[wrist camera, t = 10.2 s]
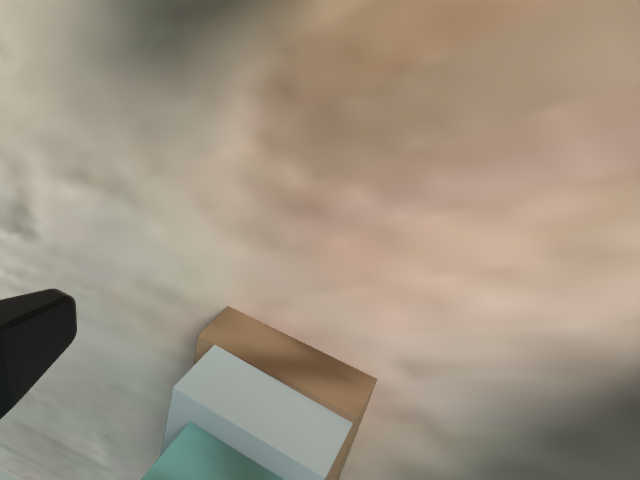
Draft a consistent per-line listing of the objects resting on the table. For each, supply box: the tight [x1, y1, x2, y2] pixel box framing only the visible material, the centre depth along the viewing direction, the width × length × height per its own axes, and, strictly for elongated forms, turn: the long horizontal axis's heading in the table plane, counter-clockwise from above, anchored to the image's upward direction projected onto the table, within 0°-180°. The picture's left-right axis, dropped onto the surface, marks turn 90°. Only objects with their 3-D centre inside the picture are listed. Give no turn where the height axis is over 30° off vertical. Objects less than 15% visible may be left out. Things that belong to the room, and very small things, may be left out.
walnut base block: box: [194, 306, 377, 480], centre depth 28 cm, size 8×8×3 cm
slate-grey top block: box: [160, 344, 353, 480], centre depth 25 cm, size 7×7×3 cm
